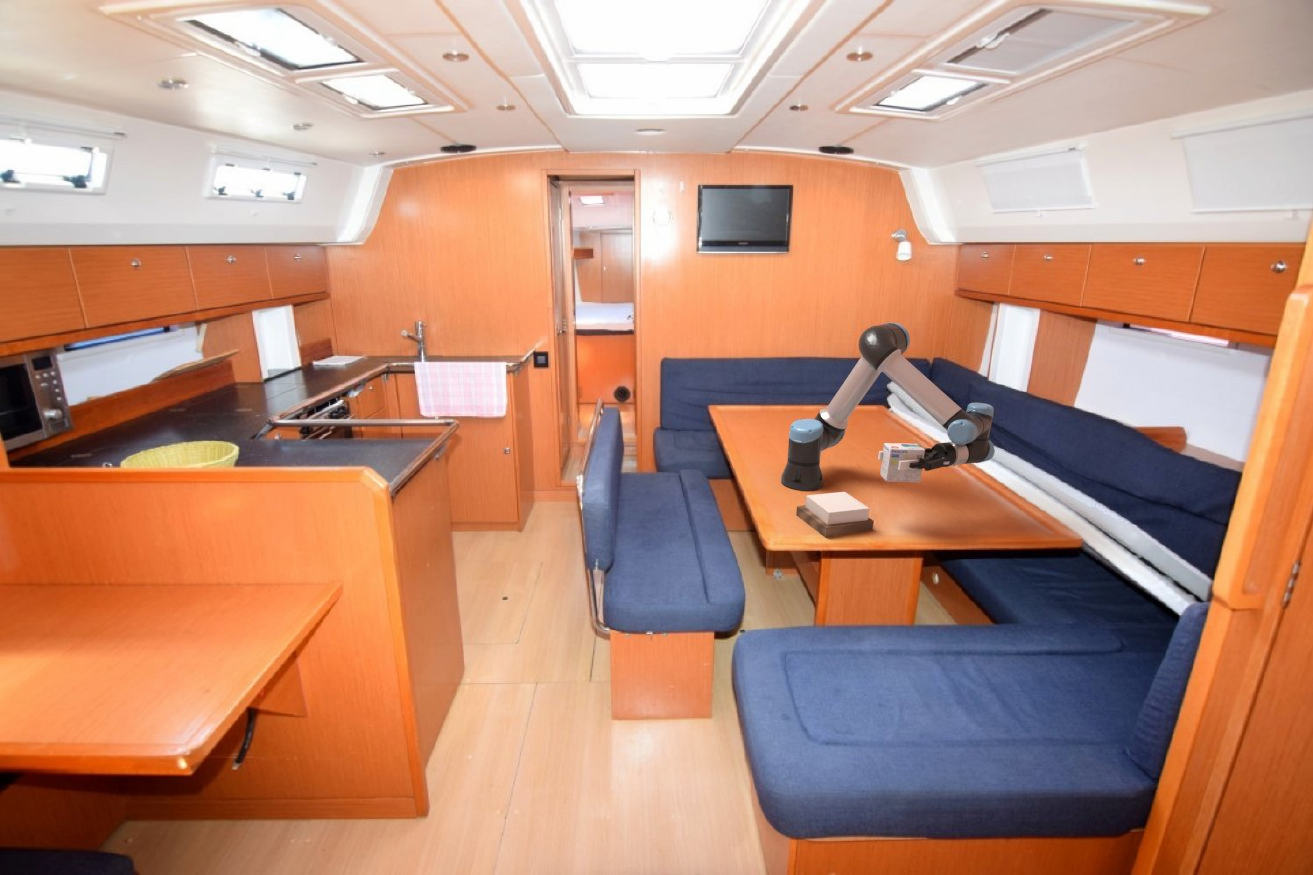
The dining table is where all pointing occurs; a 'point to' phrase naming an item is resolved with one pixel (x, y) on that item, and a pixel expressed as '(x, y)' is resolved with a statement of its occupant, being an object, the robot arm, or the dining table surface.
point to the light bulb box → (900, 453)
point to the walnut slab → (833, 528)
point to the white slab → (837, 508)
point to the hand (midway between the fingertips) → (889, 460)
